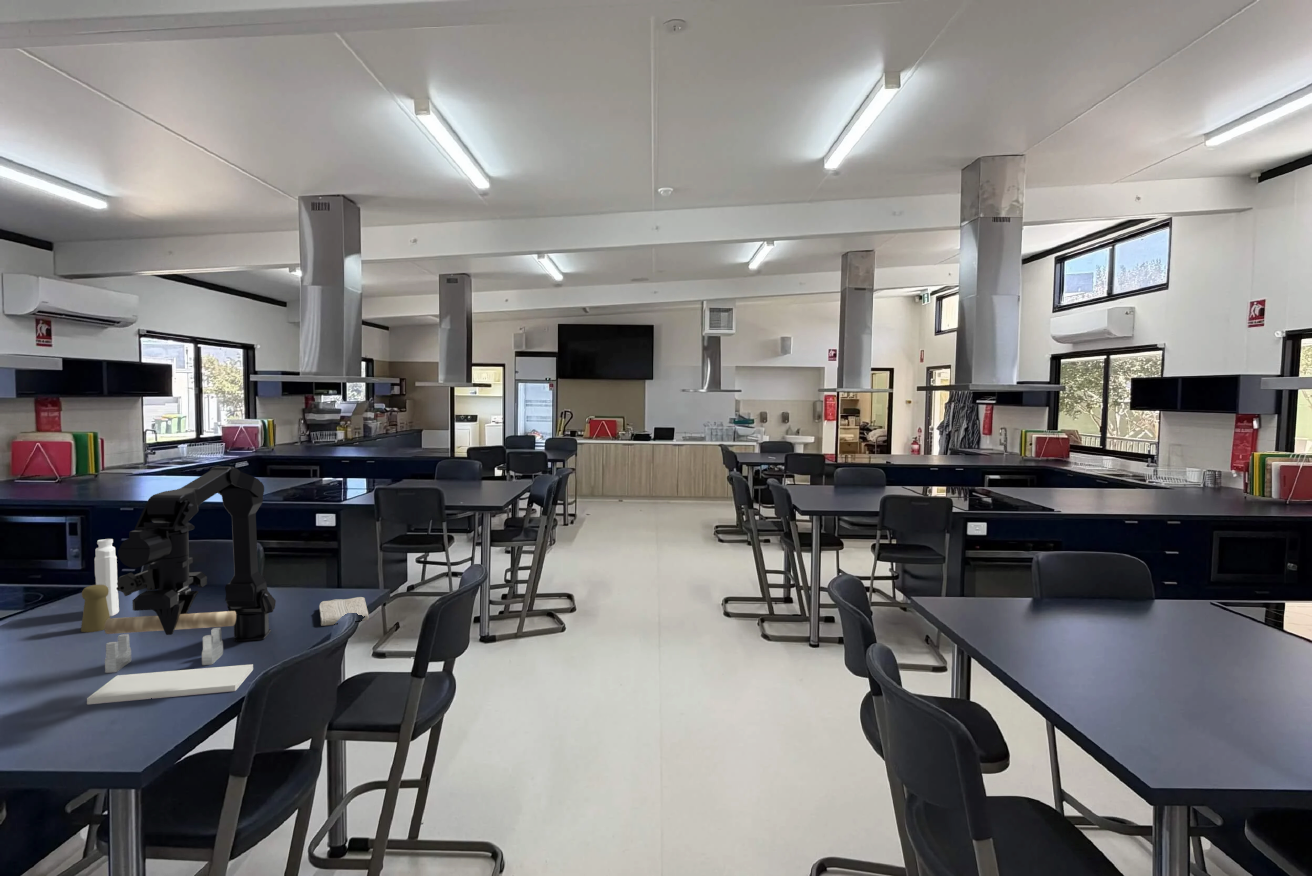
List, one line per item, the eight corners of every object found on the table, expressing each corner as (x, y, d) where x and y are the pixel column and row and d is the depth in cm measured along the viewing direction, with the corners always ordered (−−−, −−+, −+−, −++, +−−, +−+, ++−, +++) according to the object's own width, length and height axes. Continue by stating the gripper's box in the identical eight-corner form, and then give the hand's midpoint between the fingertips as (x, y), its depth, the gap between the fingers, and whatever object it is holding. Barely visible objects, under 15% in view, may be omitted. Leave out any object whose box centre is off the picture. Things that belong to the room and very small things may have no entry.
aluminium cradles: (223, 653, 152) (222, 627, 152) (212, 664, 146) (211, 636, 146) (120, 661, 147) (119, 634, 146) (105, 672, 141) (104, 644, 140)
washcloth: (364, 604, 192) (364, 593, 192) (370, 622, 177) (370, 610, 176) (318, 609, 187) (318, 599, 186) (320, 628, 171) (320, 617, 171)
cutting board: (253, 669, 143) (252, 664, 143) (235, 690, 133) (235, 684, 133) (117, 681, 137) (117, 675, 137) (87, 704, 126) (86, 698, 126)
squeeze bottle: (96, 618, 175) (121, 614, 179) (94, 544, 174) (118, 541, 178) (93, 610, 182) (117, 606, 186) (91, 538, 181) (115, 536, 185)
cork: (93, 633, 164) (92, 589, 164) (74, 631, 166) (72, 587, 165) (117, 625, 170) (116, 583, 170) (98, 623, 172) (97, 581, 171)
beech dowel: (236, 623, 138) (236, 609, 138) (231, 627, 136) (230, 613, 135) (112, 631, 133) (112, 616, 133) (104, 636, 130) (104, 620, 130)
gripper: (147, 548, 140) (149, 620, 141) (98, 568, 122) (100, 651, 123) (207, 545, 143) (208, 616, 144) (168, 565, 125) (169, 646, 126)
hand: (173, 631), depth 134 cm, fingers closed on beech dowel, 3 cm apart
